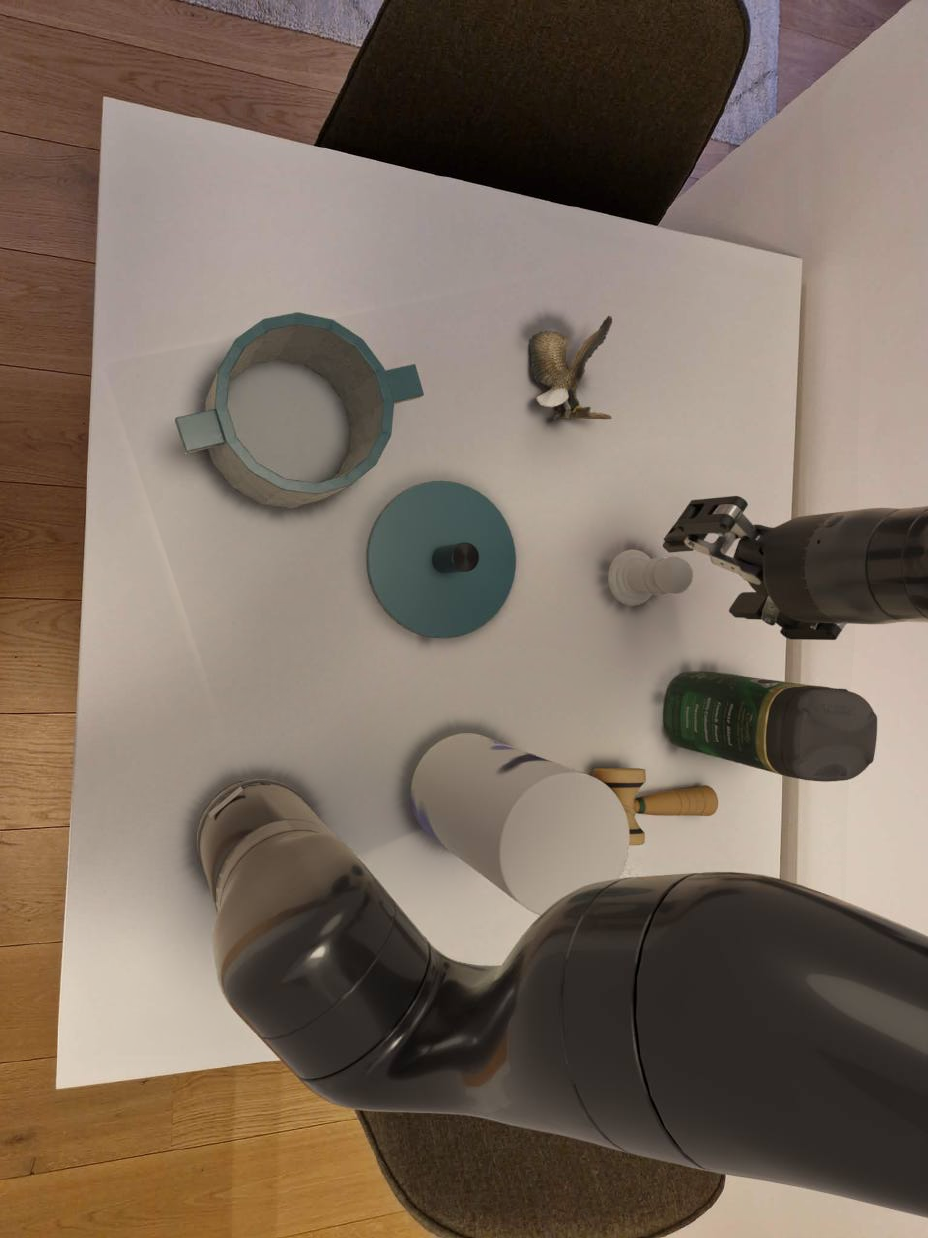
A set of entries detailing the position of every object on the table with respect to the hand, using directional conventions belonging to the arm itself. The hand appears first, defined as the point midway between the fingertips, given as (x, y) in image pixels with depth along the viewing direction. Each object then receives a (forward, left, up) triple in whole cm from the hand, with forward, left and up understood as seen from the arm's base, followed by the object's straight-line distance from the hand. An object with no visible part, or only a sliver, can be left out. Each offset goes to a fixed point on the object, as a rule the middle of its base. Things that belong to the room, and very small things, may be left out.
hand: (704, 573), depth 74 cm
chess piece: (0, 0, -12) cm, 12 cm away
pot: (+21, +28, -12) cm, 37 cm away
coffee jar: (-15, -4, -12) cm, 20 cm away
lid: (+7, +18, -11) cm, 22 cm away
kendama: (-20, +7, -12) cm, 24 cm away
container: (-13, +22, -12) cm, 28 cm away
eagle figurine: (+20, +2, -12) cm, 23 cm away
